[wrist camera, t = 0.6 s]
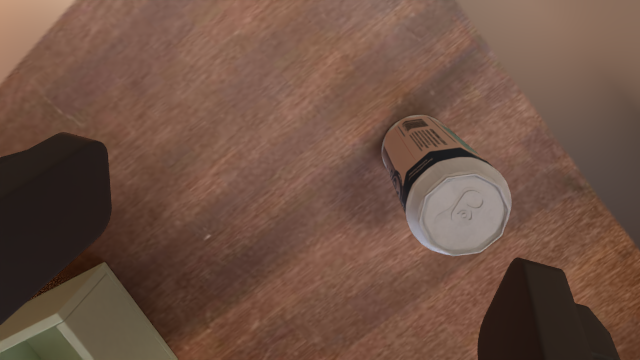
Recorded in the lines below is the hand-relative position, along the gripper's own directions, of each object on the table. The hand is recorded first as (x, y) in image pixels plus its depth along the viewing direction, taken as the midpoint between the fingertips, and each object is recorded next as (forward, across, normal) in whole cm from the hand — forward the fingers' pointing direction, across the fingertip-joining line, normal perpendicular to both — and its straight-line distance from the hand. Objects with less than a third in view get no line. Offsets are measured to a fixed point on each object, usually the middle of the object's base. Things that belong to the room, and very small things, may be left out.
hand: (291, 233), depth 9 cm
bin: (+15, +17, +27) cm, 35 cm away
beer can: (+23, -3, +8) cm, 24 cm away
